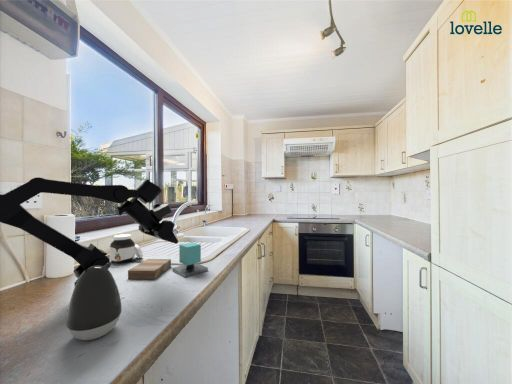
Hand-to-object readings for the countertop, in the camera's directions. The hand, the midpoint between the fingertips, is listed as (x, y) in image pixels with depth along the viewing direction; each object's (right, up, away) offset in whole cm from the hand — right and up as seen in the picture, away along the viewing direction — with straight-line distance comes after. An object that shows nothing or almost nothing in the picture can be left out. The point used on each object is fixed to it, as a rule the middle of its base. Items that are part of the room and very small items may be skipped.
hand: (171, 240), depth 86 cm
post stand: (+5, -13, +6) cm, 15 cm away
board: (-10, -13, +4) cm, 17 cm away
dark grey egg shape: (-5, -14, -34) cm, 37 cm away
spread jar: (-28, -13, +20) cm, 37 cm away
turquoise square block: (+5, -10, +5) cm, 12 cm away
